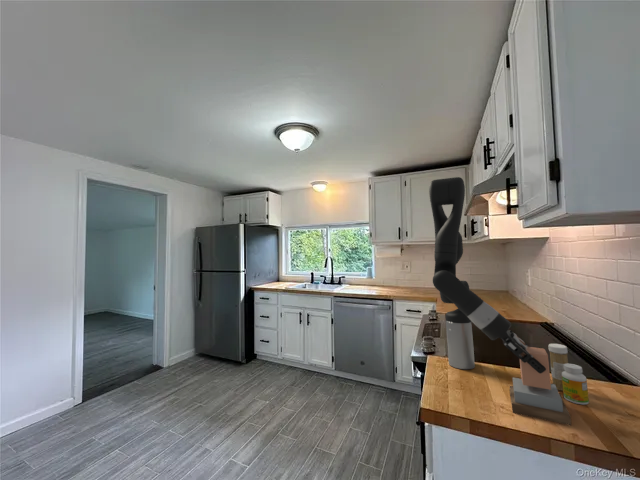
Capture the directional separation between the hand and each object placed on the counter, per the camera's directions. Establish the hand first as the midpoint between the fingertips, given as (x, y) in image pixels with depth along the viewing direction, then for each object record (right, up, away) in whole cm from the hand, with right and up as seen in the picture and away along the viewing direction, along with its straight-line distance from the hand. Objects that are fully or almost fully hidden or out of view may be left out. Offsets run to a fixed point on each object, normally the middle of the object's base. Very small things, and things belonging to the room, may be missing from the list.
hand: (541, 366), depth 76 cm
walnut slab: (-1, -12, 0) cm, 12 cm away
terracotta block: (-1, -5, 0) cm, 5 cm away
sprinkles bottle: (+15, -12, +10) cm, 22 cm away
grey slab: (-1, -9, 0) cm, 9 cm away
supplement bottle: (+13, -11, +3) cm, 17 cm away
